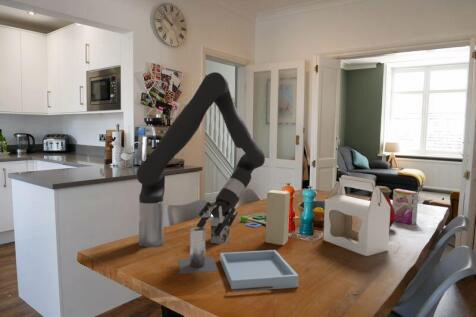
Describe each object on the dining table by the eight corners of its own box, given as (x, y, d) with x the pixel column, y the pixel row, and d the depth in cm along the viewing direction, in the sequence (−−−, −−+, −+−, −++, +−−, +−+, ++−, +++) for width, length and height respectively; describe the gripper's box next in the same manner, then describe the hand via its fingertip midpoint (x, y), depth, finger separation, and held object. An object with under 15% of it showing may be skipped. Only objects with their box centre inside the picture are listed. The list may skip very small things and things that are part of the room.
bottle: (360, 229, 163) (362, 187, 161) (361, 222, 175) (363, 183, 173) (396, 233, 157) (399, 190, 155) (395, 226, 169) (397, 186, 167)
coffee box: (225, 244, 138) (226, 205, 137) (210, 243, 139) (210, 204, 138) (230, 237, 147) (231, 200, 146) (216, 236, 148) (216, 199, 147)
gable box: (322, 240, 146) (325, 174, 144) (343, 235, 153) (346, 173, 151) (367, 256, 127) (370, 182, 125) (388, 250, 134) (392, 179, 132)
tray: (231, 292, 97) (231, 280, 97) (219, 262, 119) (220, 253, 119) (298, 287, 101) (298, 275, 101) (275, 259, 123) (275, 249, 123)
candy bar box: (390, 220, 181) (392, 189, 180) (396, 218, 184) (397, 188, 182) (411, 225, 172) (413, 192, 170) (416, 223, 174) (418, 191, 173)
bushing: (190, 268, 111) (190, 232, 110) (189, 262, 116) (189, 227, 115) (205, 267, 112) (206, 231, 111) (204, 261, 117) (204, 227, 116)
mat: (179, 276, 107) (179, 273, 107) (178, 262, 119) (178, 259, 119) (218, 274, 110) (218, 271, 110) (213, 260, 121) (213, 257, 121)
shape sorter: (281, 213, 194) (282, 205, 194) (306, 221, 179) (307, 212, 178) (232, 221, 175) (232, 213, 174) (255, 231, 159) (256, 221, 159)
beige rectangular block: (289, 240, 145) (290, 191, 143) (283, 245, 138) (285, 194, 136) (271, 237, 148) (272, 189, 146) (265, 242, 141) (266, 192, 140)
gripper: (212, 184, 126) (187, 221, 119) (240, 190, 117) (215, 229, 109) (222, 197, 131) (198, 233, 123) (250, 203, 121) (227, 242, 114)
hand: (206, 231), depth 116 cm, fingers open, 8 cm apart
